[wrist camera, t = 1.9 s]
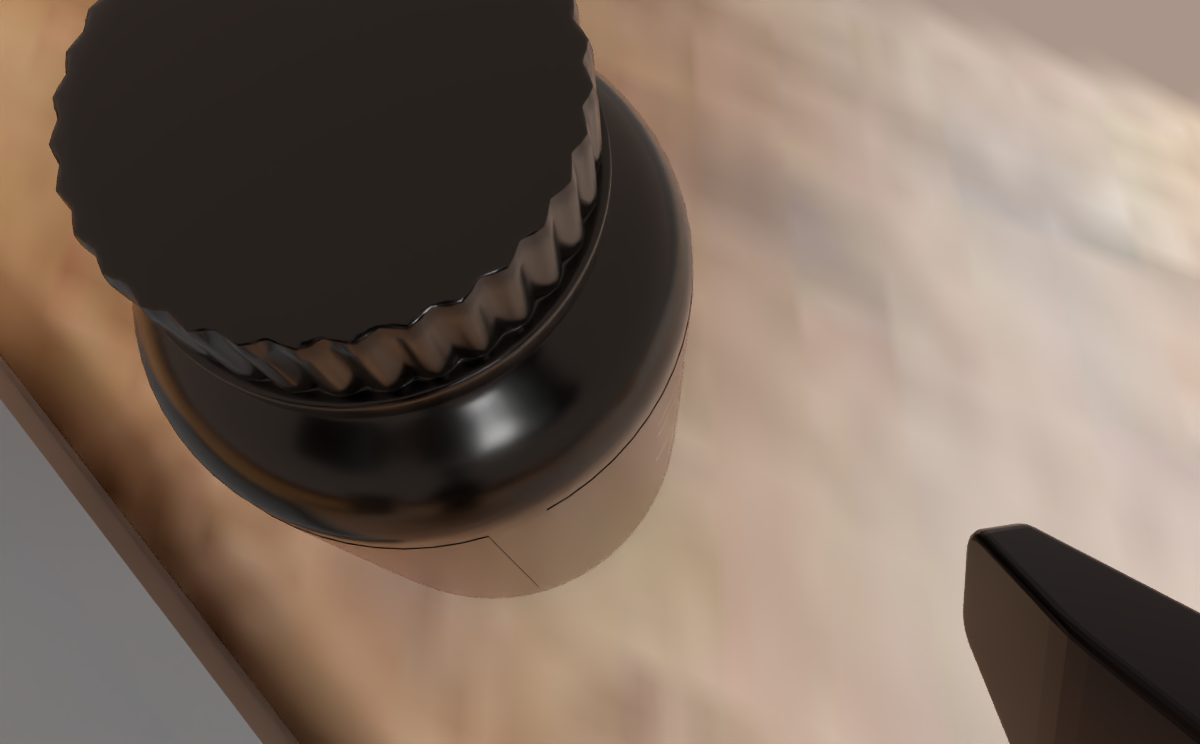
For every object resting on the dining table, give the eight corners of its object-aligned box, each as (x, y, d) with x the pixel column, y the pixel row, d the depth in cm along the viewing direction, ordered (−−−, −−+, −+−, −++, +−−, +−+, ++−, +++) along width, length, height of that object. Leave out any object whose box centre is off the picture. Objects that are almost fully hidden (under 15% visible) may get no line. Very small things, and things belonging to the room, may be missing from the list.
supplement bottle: (473, 211, 22) (301, -335, 10) (739, 392, 20) (889, 0, 9) (256, 466, 20) (-241, 161, 9) (529, 681, 19) (374, 664, 7)
